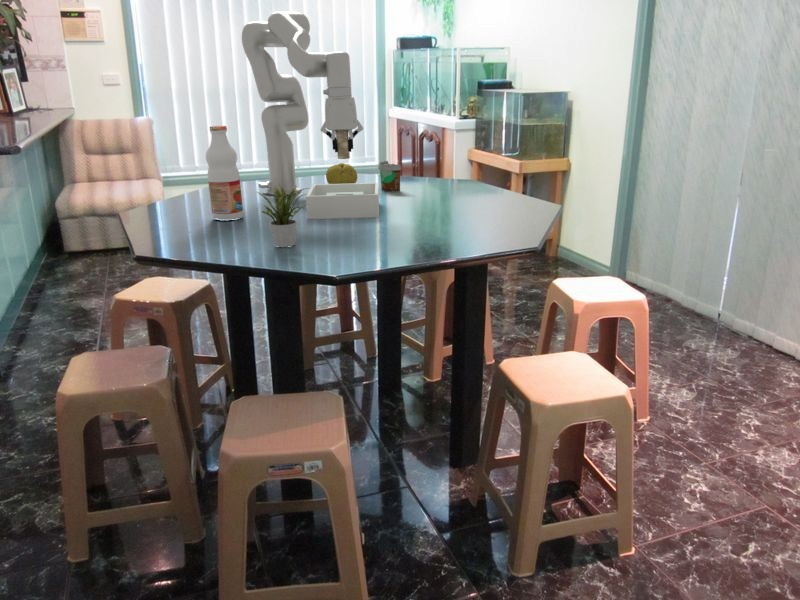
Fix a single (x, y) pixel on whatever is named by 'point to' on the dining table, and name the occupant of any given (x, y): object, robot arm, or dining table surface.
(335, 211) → the box
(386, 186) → the food container
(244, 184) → the dining table surface
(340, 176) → the fruit
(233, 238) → the dining table surface
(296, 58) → the robot arm
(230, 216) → the fruit juice
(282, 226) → the house plant
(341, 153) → the peg
